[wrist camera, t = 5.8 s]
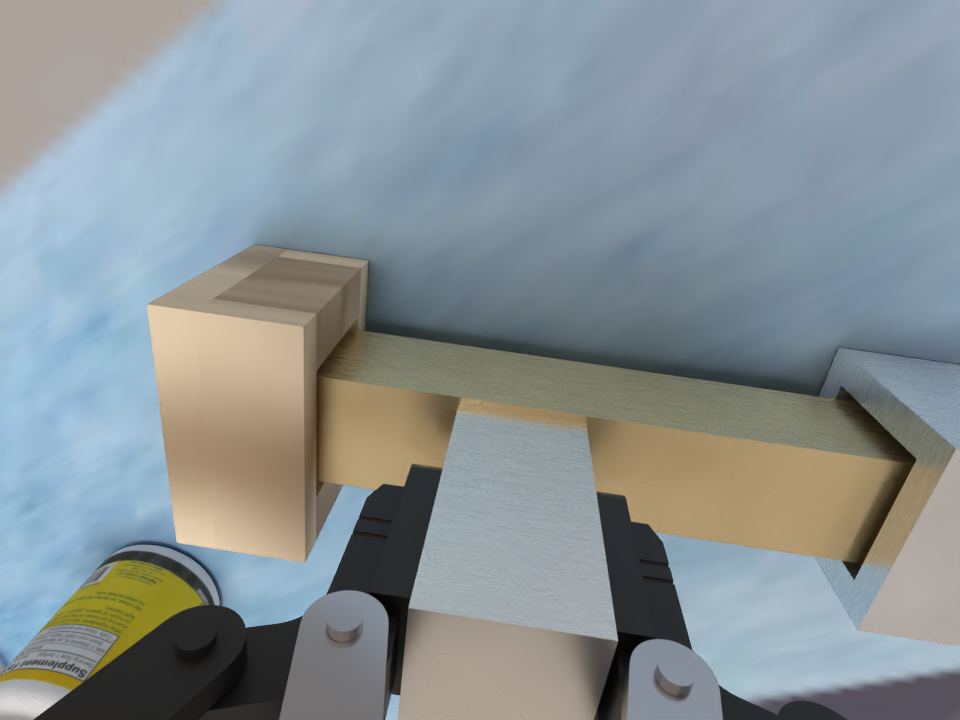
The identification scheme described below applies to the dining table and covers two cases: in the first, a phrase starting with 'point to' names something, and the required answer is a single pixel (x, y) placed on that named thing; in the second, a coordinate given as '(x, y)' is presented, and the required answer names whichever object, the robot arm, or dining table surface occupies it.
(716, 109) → the dining table surface
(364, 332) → the tan piece
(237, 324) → the socket
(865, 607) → the white plaster block
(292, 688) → the robot arm
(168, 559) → the supplement bottle
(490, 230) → the dining table surface
